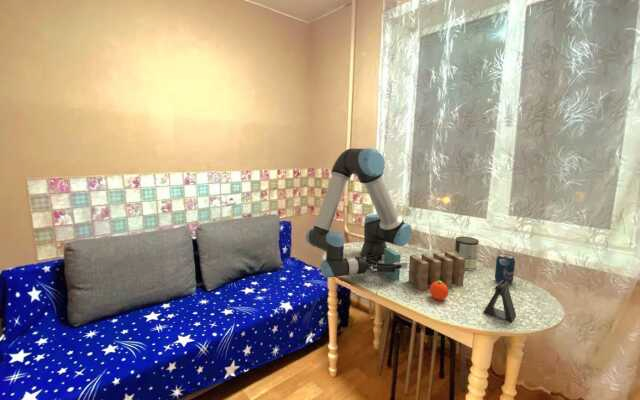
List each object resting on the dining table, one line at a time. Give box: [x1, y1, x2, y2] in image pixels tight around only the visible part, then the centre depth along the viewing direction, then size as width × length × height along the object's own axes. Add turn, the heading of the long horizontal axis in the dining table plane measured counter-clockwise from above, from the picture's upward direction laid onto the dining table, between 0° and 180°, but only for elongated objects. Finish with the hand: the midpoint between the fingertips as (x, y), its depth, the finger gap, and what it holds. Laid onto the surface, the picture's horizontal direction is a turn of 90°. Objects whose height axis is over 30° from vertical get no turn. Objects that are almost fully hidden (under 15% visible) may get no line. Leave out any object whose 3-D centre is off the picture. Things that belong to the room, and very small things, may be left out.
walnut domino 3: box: [432, 252, 453, 288], centre depth 132 cm, size 10×2×12 cm, turn 16°
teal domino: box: [383, 247, 401, 282], centre depth 139 cm, size 10×2×12 cm, turn 16°
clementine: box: [429, 281, 449, 301], centre depth 118 cm, size 8×7×7 cm
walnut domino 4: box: [443, 250, 465, 287], centre depth 134 cm, size 10×2×12 cm, turn 16°
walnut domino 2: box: [421, 253, 441, 287], centre depth 131 cm, size 10×2×12 cm, turn 16°
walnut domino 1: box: [408, 254, 429, 292], centre depth 129 cm, size 10×2×12 cm, turn 16°
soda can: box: [494, 253, 516, 285], centre depth 133 cm, size 7×7×12 cm
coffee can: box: [454, 236, 480, 271], centre depth 149 cm, size 10×10×14 cm
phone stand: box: [483, 280, 517, 323], centre depth 106 cm, size 9×6×12 cm, turn 46°
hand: (400, 260), depth 140 cm, fingers closed on teal domino, 10 cm apart
